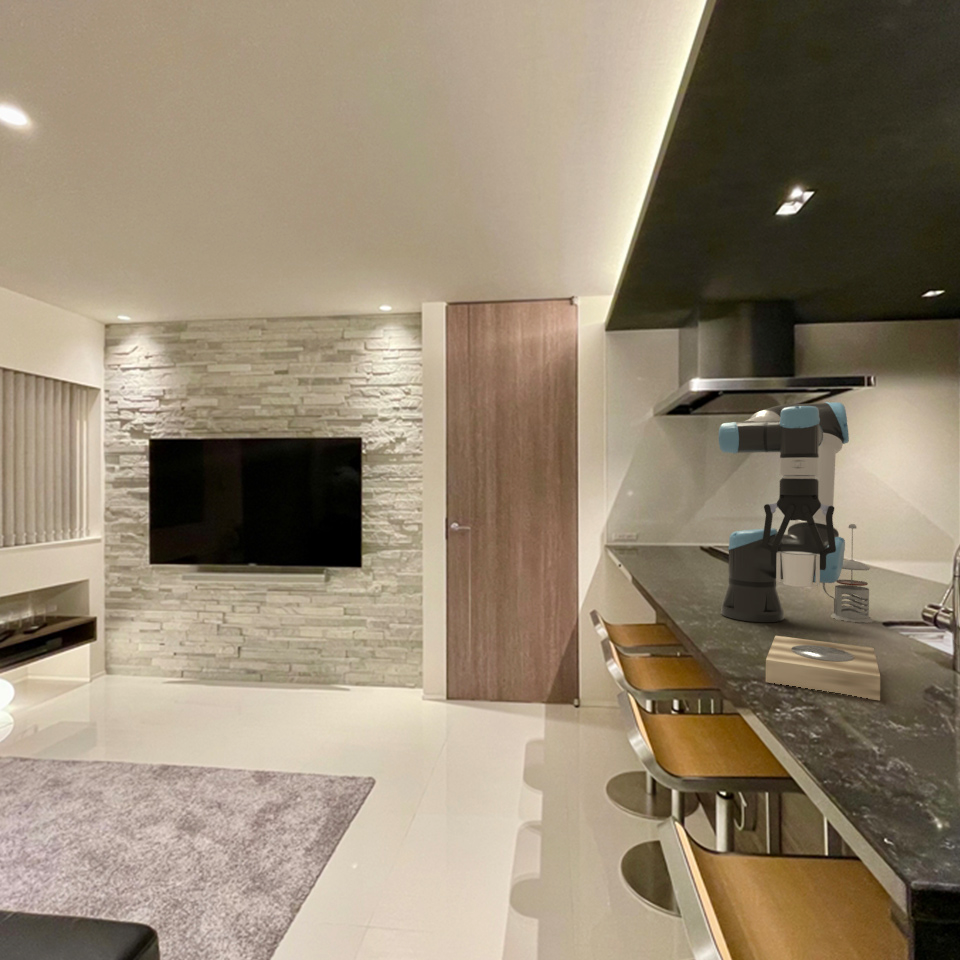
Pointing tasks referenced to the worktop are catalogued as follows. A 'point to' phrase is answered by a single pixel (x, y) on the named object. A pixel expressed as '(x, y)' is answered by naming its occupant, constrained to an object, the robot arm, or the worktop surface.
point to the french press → (851, 594)
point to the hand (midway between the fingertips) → (797, 583)
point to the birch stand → (824, 667)
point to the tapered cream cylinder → (798, 568)
